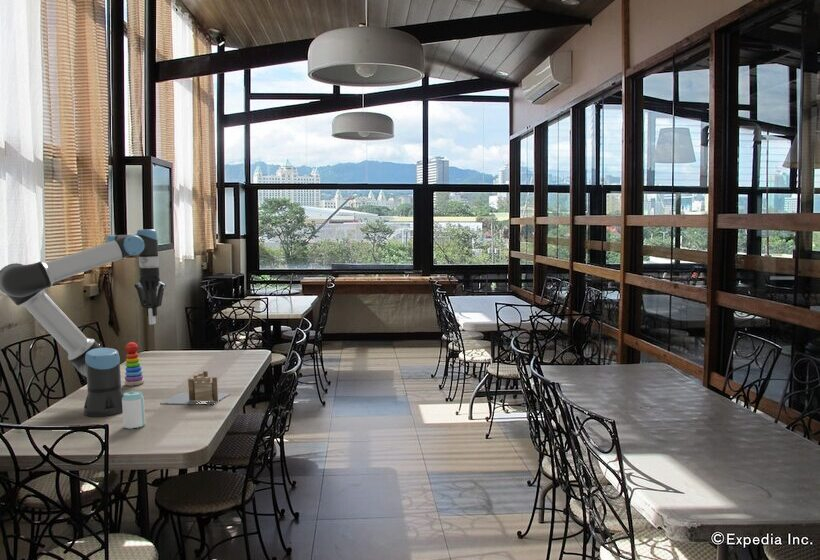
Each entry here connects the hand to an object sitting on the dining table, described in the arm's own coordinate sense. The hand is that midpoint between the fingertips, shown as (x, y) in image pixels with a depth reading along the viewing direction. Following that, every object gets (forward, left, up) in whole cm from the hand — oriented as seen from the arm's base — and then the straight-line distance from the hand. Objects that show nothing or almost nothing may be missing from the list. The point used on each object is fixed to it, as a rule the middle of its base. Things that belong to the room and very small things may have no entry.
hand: (152, 323), depth 277 cm
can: (-43, -16, -30) cm, 55 cm away
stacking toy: (+15, +19, -30) cm, 38 cm away
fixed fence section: (-10, -26, -29) cm, 40 cm away
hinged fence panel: (-4, -22, -29) cm, 36 cm away
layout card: (-7, -21, -29) cm, 37 cm away
